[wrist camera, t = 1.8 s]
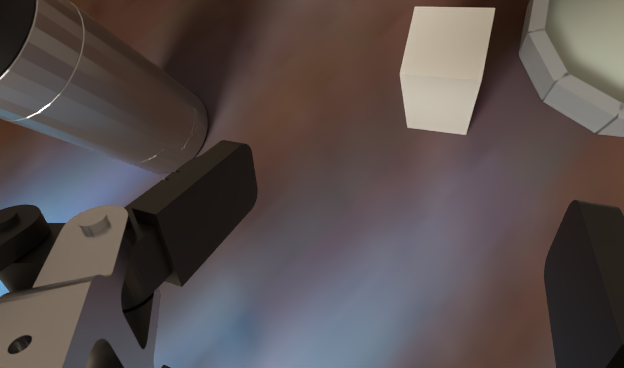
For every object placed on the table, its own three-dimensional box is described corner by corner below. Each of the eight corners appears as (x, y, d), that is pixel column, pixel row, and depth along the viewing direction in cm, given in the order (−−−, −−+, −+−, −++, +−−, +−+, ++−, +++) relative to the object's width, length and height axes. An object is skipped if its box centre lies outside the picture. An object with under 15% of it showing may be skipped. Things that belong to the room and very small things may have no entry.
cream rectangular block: (407, 127, 30) (399, 73, 22) (418, 77, 31) (414, 6, 23) (465, 134, 29) (481, 80, 20) (476, 81, 29) (495, 7, 21)
